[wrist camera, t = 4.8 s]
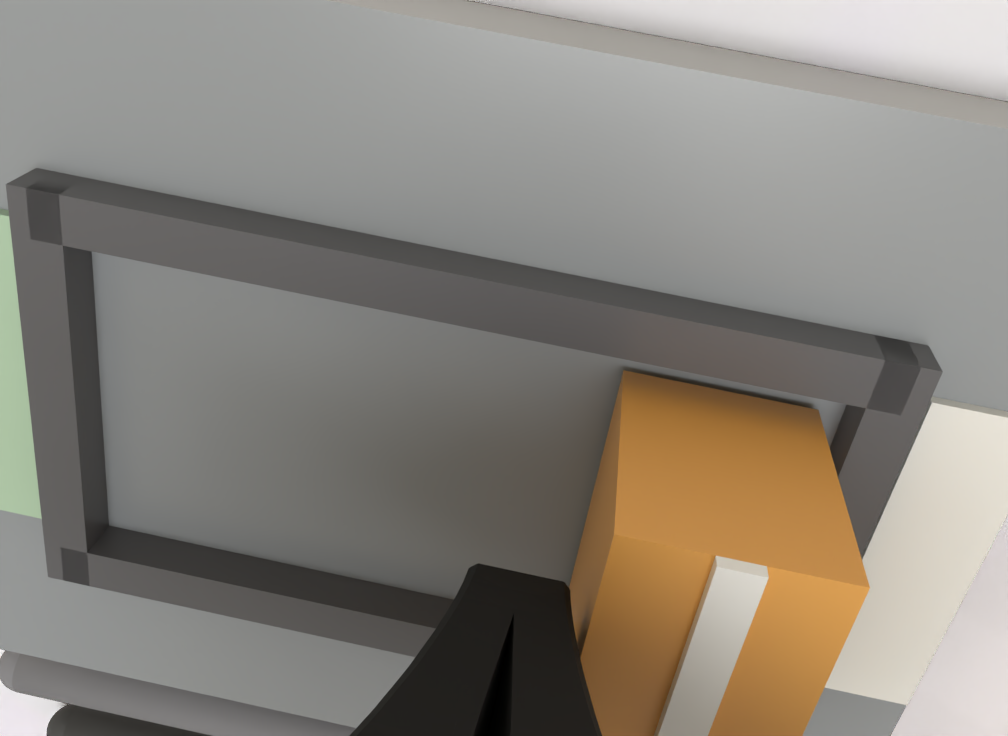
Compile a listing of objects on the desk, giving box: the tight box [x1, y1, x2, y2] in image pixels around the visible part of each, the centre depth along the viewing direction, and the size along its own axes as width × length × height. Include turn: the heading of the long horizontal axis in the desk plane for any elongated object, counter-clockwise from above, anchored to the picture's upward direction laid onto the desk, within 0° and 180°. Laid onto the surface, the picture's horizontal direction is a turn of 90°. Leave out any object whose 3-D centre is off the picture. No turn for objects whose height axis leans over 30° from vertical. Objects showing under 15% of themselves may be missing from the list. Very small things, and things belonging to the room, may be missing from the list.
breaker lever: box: [569, 370, 870, 736], centre depth 14 cm, size 3×5×4 cm, turn 171°
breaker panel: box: [0, 0, 1008, 736], centre depth 17 cm, size 18×14×3 cm
